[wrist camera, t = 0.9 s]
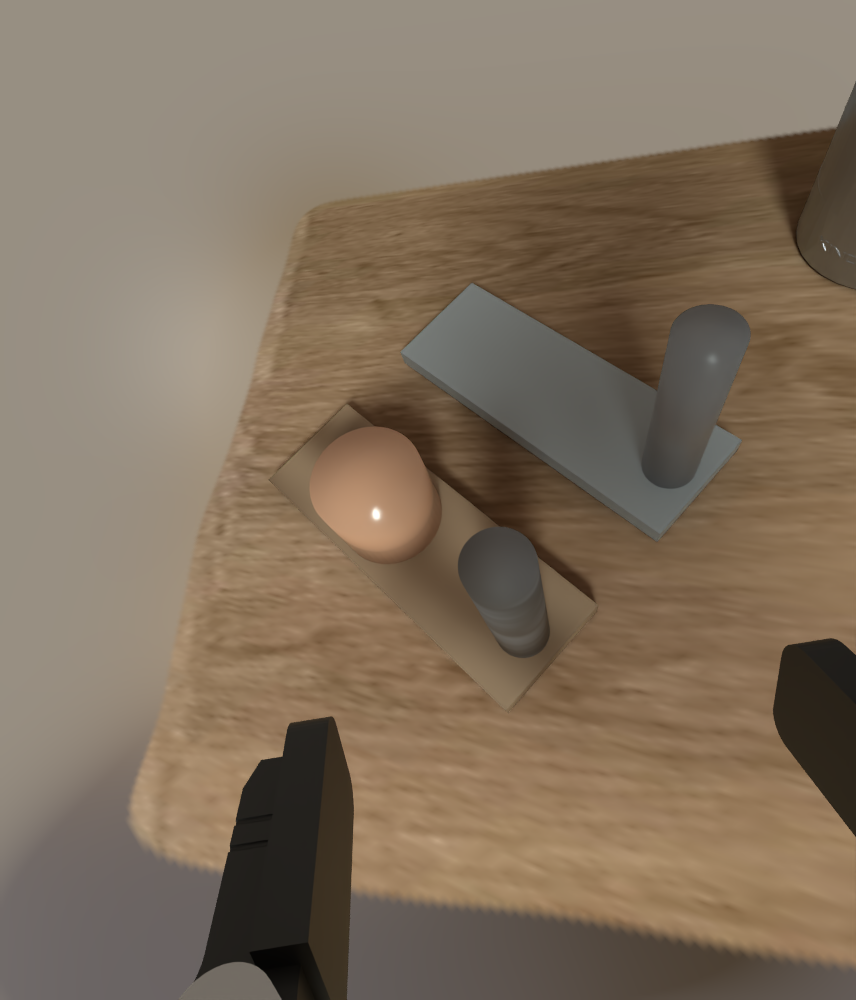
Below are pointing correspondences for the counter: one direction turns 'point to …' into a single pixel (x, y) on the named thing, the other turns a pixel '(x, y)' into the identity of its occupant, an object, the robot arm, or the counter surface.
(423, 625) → the peg on wooden base
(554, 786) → the counter surface
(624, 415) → the grey peg stand
